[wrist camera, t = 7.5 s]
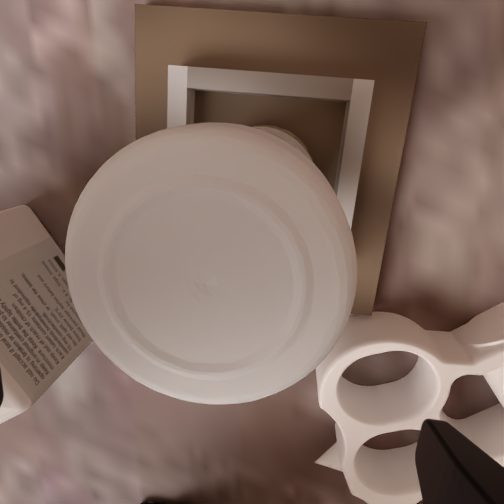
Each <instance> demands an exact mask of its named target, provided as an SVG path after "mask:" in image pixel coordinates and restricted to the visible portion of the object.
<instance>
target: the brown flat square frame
mask: <svg viewBox="0 0 504 504" xmlns="http://www.w3.org/2000/svg"><path fill="white" fill-rule="evenodd" d="M426 24H427V22H412V21H396V20H380V19H364V18H349V17H333V16H317V15H301V14H286V13H270V12H254V11H238V10H222V9H207V8H191V7H175V6H159V5H143V4H135V95H136V140H138V139H140V138H142V137H144V136H147V135H149V134H152V133H154V132H157V131H159V130H164V129H168V128H173V127H177V126H182V125H189V124H196V123H207V122H212V123H232V124H241V125H245V126H249V127H254V126H259V125H271V126H277V127H279V128H282V129H286V130H288V131H290V132H292V133H293V134H294V135H295V136H297V137H298V138H299V139H300V140H301V141H302V142H303V143H304V145H305V146H306V147H307V149H308V152H309V154H310V155H311V157H312V159H313V163H314V164H315V165H316V166H317V168H318V169H319V170H320V171H321V172H322V174H323V175H324V176H325V178H326V179H327V181H328V182H329V184H330V185H331V187H332V189H333V191H334V192H335V194H336V196H337V198H338V200H339V202H340V204H341V206H342V208H343V211H344V213H345V215H346V218H347V221H348V223H349V226H350V229H351V232H352V236H353V241H354V246H355V251H356V259H357V285H356V293H355V298H354V302H353V307H352V310H351V314H360V315H368V316H372V311H373V306H374V301H375V295H376V290H377V285H378V279H379V274H380V269H381V264H382V258H383V253H384V248H385V242H386V237H387V232H388V226H389V221H390V216H391V210H392V205H393V200H394V194H395V189H396V184H397V178H398V173H399V168H400V163H401V157H402V152H403V147H404V141H405V136H406V131H407V125H408V120H409V115H410V109H411V104H412V99H413V93H414V88H415V83H416V77H417V72H418V67H419V62H420V56H421V51H422V46H423V40H424V35H425V30H426Z"/></svg>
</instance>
